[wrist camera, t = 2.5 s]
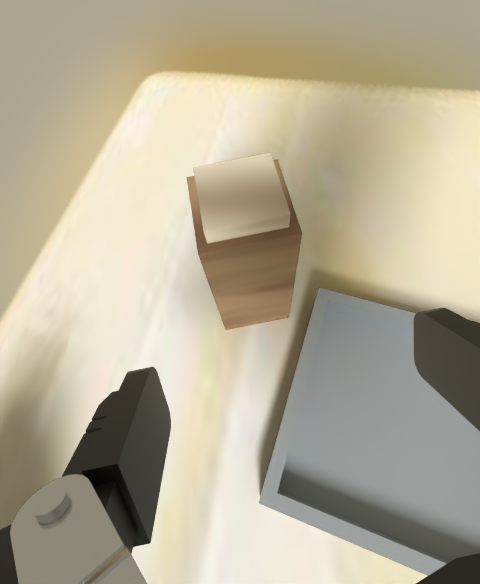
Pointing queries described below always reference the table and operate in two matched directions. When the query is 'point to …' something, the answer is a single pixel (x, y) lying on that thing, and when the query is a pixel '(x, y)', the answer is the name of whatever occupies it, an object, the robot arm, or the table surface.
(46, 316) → the table surface
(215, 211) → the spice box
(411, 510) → the tray
